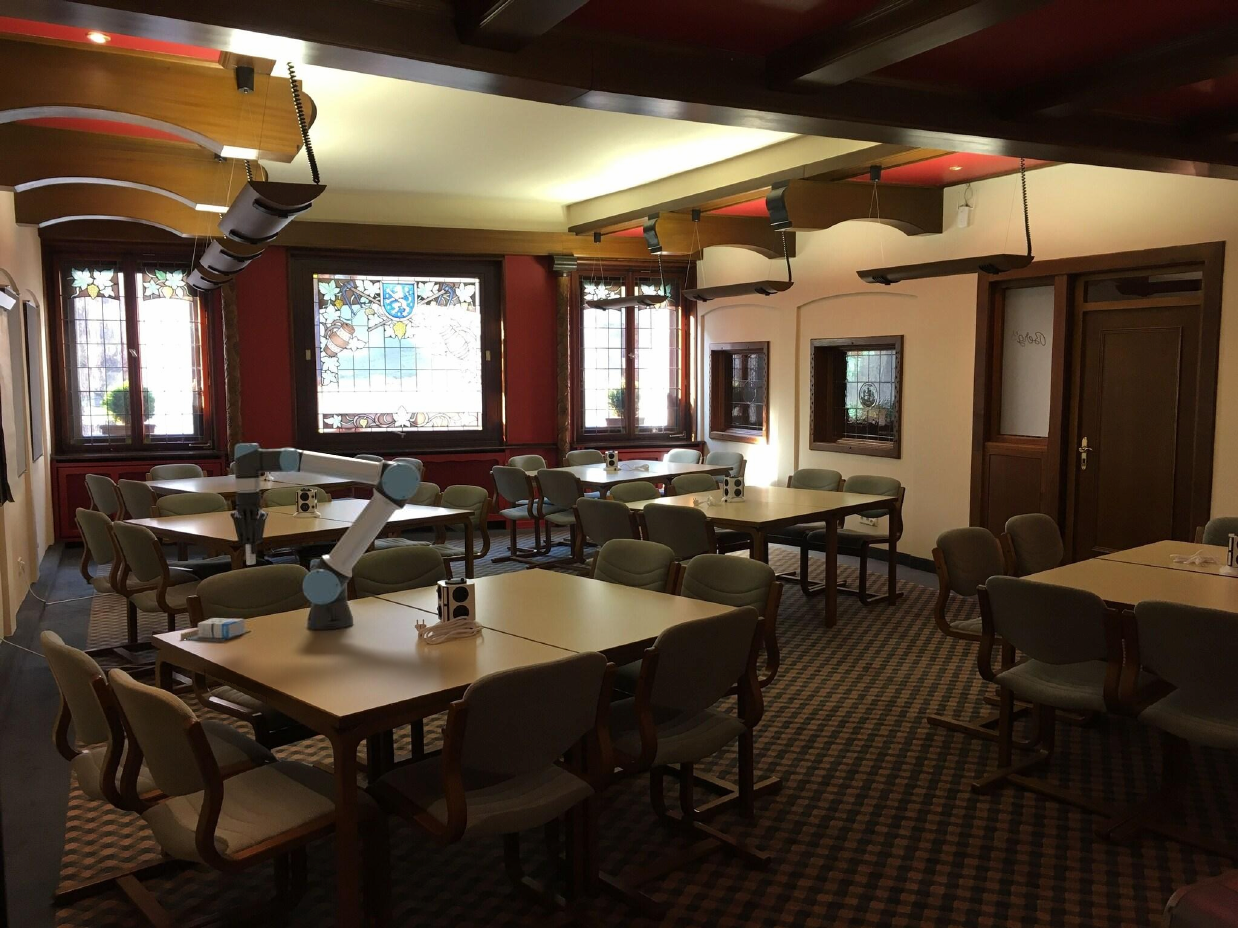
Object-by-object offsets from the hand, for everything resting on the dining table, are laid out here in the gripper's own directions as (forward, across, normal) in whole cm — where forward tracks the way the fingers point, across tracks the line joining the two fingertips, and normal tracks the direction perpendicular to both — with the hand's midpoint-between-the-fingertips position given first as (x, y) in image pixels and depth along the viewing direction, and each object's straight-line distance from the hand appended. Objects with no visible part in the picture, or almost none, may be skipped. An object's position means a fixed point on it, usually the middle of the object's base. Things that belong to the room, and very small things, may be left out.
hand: (251, 563), depth 306 cm
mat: (+24, +15, 0) cm, 28 cm away
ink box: (+21, +6, 0) cm, 22 cm away
